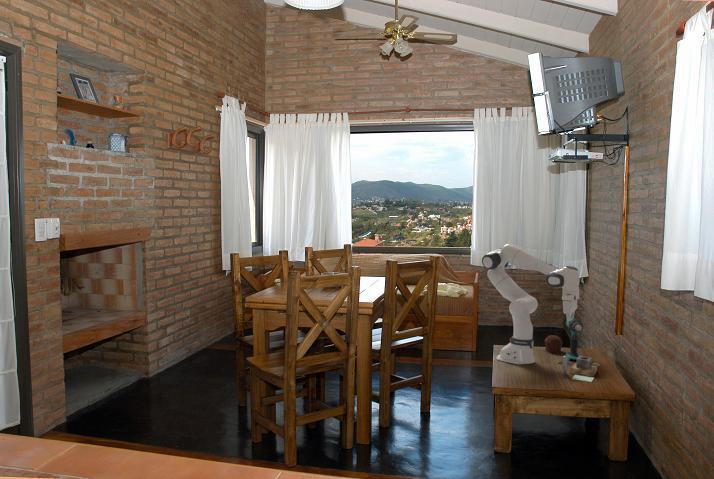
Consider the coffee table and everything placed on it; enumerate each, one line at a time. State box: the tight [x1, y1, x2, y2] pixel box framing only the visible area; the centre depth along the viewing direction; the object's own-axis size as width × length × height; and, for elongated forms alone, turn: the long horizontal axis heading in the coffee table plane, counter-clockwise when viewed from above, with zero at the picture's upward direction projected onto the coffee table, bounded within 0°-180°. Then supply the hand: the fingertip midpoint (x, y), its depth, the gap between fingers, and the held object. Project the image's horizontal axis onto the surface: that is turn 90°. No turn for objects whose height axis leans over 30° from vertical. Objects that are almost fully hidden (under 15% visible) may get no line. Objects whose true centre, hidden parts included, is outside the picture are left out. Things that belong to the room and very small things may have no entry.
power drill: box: [564, 317, 584, 362], centre depth 344 cm, size 26×9×25 cm, turn 168°
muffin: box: [543, 334, 564, 354], centre depth 365 cm, size 12×11×10 cm
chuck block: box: [570, 355, 600, 378], centre depth 319 cm, size 14×12×8 cm
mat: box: [571, 374, 595, 383], centre depth 308 cm, size 10×8×1 cm
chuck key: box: [557, 355, 573, 376], centre depth 314 cm, size 8×3×10 cm, turn 57°
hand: (570, 319), depth 317 cm, fingers open, 8 cm apart
